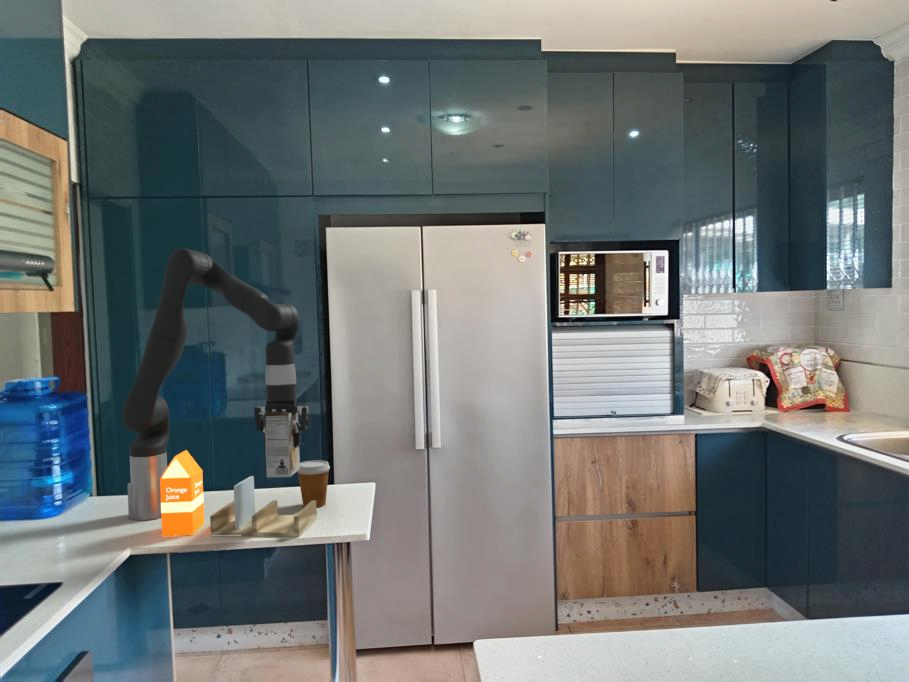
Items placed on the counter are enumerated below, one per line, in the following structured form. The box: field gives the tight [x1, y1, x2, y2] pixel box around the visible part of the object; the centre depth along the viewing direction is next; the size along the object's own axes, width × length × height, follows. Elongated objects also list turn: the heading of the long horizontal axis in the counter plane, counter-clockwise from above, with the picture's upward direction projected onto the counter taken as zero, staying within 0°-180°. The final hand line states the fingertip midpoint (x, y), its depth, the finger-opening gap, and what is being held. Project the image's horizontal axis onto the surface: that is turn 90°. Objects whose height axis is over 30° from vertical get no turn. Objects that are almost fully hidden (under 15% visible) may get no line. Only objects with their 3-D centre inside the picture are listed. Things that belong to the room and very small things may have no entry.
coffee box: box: [263, 411, 301, 478], centre depth 165 cm, size 9×6×16 cm
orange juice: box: [160, 449, 205, 537], centre depth 165 cm, size 8×9×20 cm
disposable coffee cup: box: [296, 459, 331, 508], centre depth 185 cm, size 10×10×12 cm
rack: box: [209, 499, 318, 538], centre depth 166 cm, size 23×14×5 cm, turn 85°
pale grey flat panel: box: [233, 475, 256, 530], centre depth 166 cm, size 1×10×11 cm, turn 174°
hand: (282, 446), depth 165 cm, fingers closed on coffee box, 6 cm apart
